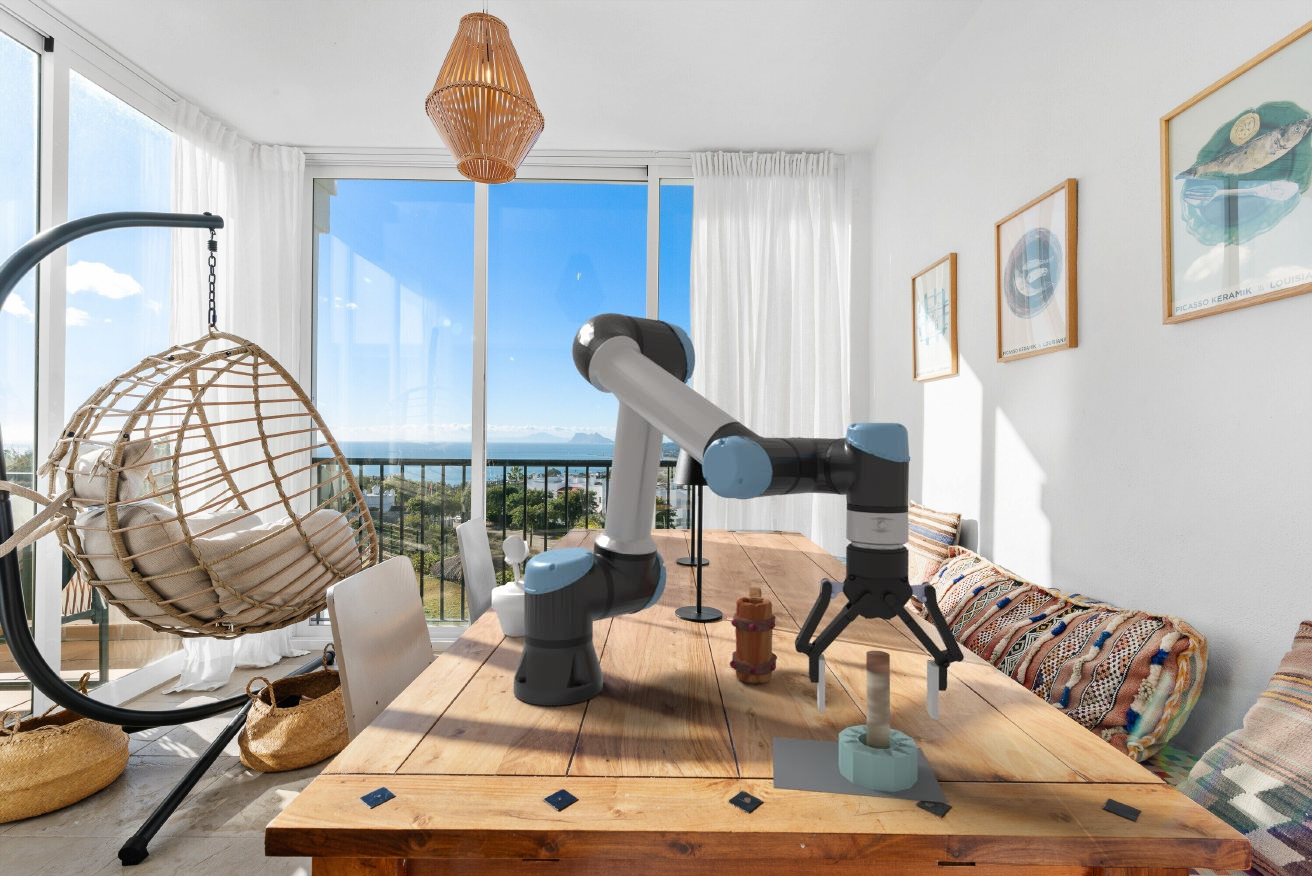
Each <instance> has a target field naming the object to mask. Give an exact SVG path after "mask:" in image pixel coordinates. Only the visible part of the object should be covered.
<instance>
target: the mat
mask: <svg viewBox="0 0 1312 876" xmlns="http://www.w3.org/2000/svg"><path fill="white" fill-rule="evenodd" d="M771 738H772V775H773V776H772V777H773V780H772V781H773V783H772V784H773V786H772V787H773V789H781V790H792V791H793V790H794V791H804V792H805V791H806V792H815V793H817V792H818V793H826V794H827V793H828V794H840V795H841V794H842V795H851V796H863V797H875V798H876V797H877V798H887V799H898V800H906V801H907V800H910V801H921V802H931V803H941V804H942V803H944V804H949V801H948V799H947V797H946V795H945V793H944V791H943V789H942V787H941V785H940V783H939V782H938V779H937V777H936V775H935V773H934V771H933V769H932V767H931V766H930V763H929V762H928V759H927V758H926V755H925V754H924V751H923V750H922V748H921V747H917V748H918V780H917V781H916V783H915V784H914V785H913V786H912V787H911V788H910V789H905V790H901V791H896V792H889V791H877V790H871V789H868V788H865V787H862V786H859V785H856V784H853V783H852V782H851V781H849V780H848V779H847V778H845V777H844V776H843V775H841V773H840V768H839V741H829V740H818V739H817V740H816V739H802V738H791V737H789V738H788V737H779V736H777V737H776V736H772V737H771Z"/></svg>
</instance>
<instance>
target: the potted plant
mask: <svg viewBox="0 0 1312 876" xmlns="http://www.w3.org/2000/svg"><path fill="white" fill-rule="evenodd" d="M531 525H532V526H531V527H532V528H531V529H532V530H531V534H532V535H531V536H532V541H533V540H534V539H533V537H534V536H533V533H534V527H533V523H532V524H531ZM540 545H541V543H540V541H539V542H538V546H540ZM501 550H502V551H503V553H504V556H505V557H504V559H503V560H504V562H506V564H507V565H512V571H513V575H514V580H513V581H508V582H507V583H506V584H505V585H500V586H498V587H497V586H496V587H494V588H493V589H492V590H491V610H492V611H493V612H495V613H496V615H497V619H498V621H499V624H500V628H501V631H502V633H503V634H504V635H505V636H507V637H512V638H521V637H524V587H523V584H524V581H523V580H520V579H521V573H520V572H521V571H520V567H519V564H521V563H522V562H523V561H525V560H526V559H527V557H528V556H529V555H530V548H529V545H528V542H527V540H524V539H523V538H522V536H520V535H518V534H517V535H509V536H508V537H507V538H506V539H504V540H503V542H502V548H501Z"/></svg>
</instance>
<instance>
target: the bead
mask: <svg viewBox="0 0 1312 876" xmlns="http://www.w3.org/2000/svg"><path fill="white" fill-rule="evenodd" d="M838 742H839V768H840V773H841V775H843V776H844V777H845V778H847V779H848V780H849V781H851V782H852V783H853V784H856V785H859V786H862V787H865V788H868V789H871V790H877V791H889V792H896V791H901V790H905V789H910V788H911V787H912V786H913V785H914V784H915V783H916V781H917V780H918V748H919V747H918V746H917V744H916V742H915V740H914V738H912V737H910V736H909V735H907V734H905V733H904V732H902V731H900V730H897V729H894V728H890V748H889V749H875V748H872V747H868V746H867V724H858V725H853V726H848V727H847V726H846V727H845V728H844V729H843V730H841V731H840V732H839V733H838Z"/></svg>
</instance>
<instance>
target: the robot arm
mask: <svg viewBox="0 0 1312 876" xmlns="http://www.w3.org/2000/svg"><path fill="white" fill-rule="evenodd" d="M571 348H572V351H571V353H572V360H573V362H574V366H575V367H576V369H577V371H578V374H580V375H581V376H582V378H583V379H584V380H586V382H587V383H588V384H590V385H591V386H593V387H594V388H595V389H596V390H598V391H599V392H602V393H605V394H610V393H611V394H613V395H614V397H616V399H617V400H618V412H617V420H616V428H615V429H616V430H615V437H614V438H615V439H614V446H613V455H612V463H611V470H610V479H609V488H608V494H607V504H606V514H605V521H604V530H603V531H602V532H601V533H599V534H598V535H596V536H595V538H594V544H593V550H590V549H589V548H587V547H586V548H585V547H579V546H578V547H577V546H576V547H575V546H574V547H570V546H569V547H565V548H555V549H550V550H547V551H543V552H540V553H537V554H536V555H534V556H532V557H531V558H530V559H529V560H528V561H527V563H526V564H525V569H524V578H523V579H524V581H523V582H524V584H523V587H524V636H523V637H524V638H523V639H524V643H523V644H524V645H523V649H522V652H521V654H520V658H519V660H518V665H517V667H516V670H515V673H514V676H513V694H514V696H515V697H516V698H517V699H518V700H520V701H523V702H526V703H528V704H533V705H541V706H565V705H566V706H567V705H572V704H577V703H581V702H585V701H588V700H590V699H593V698H594V697H596V696H598V695H599V694H600V693H601V692H602V691H603V687H604V683H603V682H604V675H603V671H602V667H601V665H600V662H599V658H598V655H597V652H596V648H595V645H594V640H593V639H594V638H593V637H594V636H593V635H594V633H593V630H594V622H596V621H601V620H605V619H611V618H614V617H619V616H620V617H621V616H623V615H625V616H626V615H633V614H637V613H639V612H641V611H644V610H647V609H651V608H652V607H653V606H654V605H655V604H657V602H659V600H660V599H661V597H662V596H663V594H664V591H665V588H666V585H667V584H666V583H667V568H666V566H664V563H665V561H664V558H663V557H662V555H661V554H660V553H659V551H658V544H657V543H656V542H655V540H654V539H653V537H652V535H651V534H652V526H653V518H654V512H655V503H656V496H657V488H658V481H659V473H660V472H659V471H660V464H661V459H662V458H661V456H662V449H663V443H664V442H663V441H664V436H665V437H667V438H668V439H669V440H670V441H672V442H673V443H674V444H675V445H676V446H678V447H679V448H681V450H683V451H684V452H685V453H687V454H688V455H689V456H691V457H692V458H693V460H696V461H697V462H698V463H699V464H700V465H701V468H702V476H703V478H704V479H705V481H706V483H707V487H708V488H709V490H711V492H712V493H714V494H715V495H717V496H718V497H721V498H724V499H737V500H748V499H749V500H750V499H751V500H752V499H755V498H762V497H763V498H764V497H774V496H785V495H788V496H789V495H797V494H798V495H801V494H828V495H829V494H830V495H831V494H832V495H839V496H840V495H841V496H845V497H846V498H845V499H846V527H845V528H846V530H845V533H846V534H845V537H846V539H847V541H849V542H850V543H849V544H847V546H846V548H845V551H846V553H845V557H846V558H845V560H846V561H845V571H846V572H845V578H844V581H843V582H840V581H832V580H830V579H829V578H827V577H823V578H822V579H821V581H820V587H819V588H820V589H819V595H818V596H817V599H816V601H815V602H814V604H813V606H812V608H811V610H810V611H809V614H808V616H807V617H806V620H805V621H804V623H803V624H802V627H801V628H800V630H799V632H798V634H797V636H796V638H795V640H794V645H795V646H794V647H795V651H796V652H797V653H800V654H804V655H805V656H807V657H808V678H809V681H810V683H813V684H817V686H816V687H817V689H816V691H817V696H816V697H817V699H816V700H817V703H816V704H817V709H818V712H822V713H823V712H824V713H825V712H826V657H825V655H824V652H825V650H827V649H828V648H829V646H831V644H832V643H833V642H834V641H835V640H836V639H837V638H838V637H839V636H840V635H841V633H843V631H844V630H845V629H846V628H847V627H848V626H849V625H850V624H851V623H853V622H854V621H855V620H856V619H857V618H858V617H859V616H861V617H862V618H864V619H868V620H873V619H877V618H879V619H882V620H886V621H888V620H889V621H891V620H892V619H894V618H895V617H898V618H900V620H901V621H902V622H903V624H904V625H905V626H906V627H907V628H908V629H909V630H910V632H911V634H913V635H914V637H915V638H916V639H917V640H918V641H919V643H920V644H921V645H922V646H923V647H924V648H925V649H926V650H927V652H928V653H929V654H930V655H931V657H933V659H927V660H926V712H927V713H928V715H929V717H930V718H931V720H936V721H939V715H940V714H939V711H940V710H939V706H940V705H939V703H940V702H939V700H940V698H939V696H940V695H939V694H940V693H939V692H946V691H947V689H948V668H949V667H950V665H951V664H952V663H955V662H957V663H960V662H963V661H964V659H965V656H964V654H963V652H962V650H961V648H960V646H959V644H958V641H957V640H956V638H955V636H954V634H953V632H952V630H951V628H950V627H949V624H948V623H947V621H946V620H947V619H946V618H945V616H944V614H943V612H942V611H941V609H940V607H939V604H938V598H937V590H936V588H935V587H934V586H933V585H932V584H931V583H930V582H928V581H925V582H924V581H923V582H922V583H921V584H913V585H912V584H911V585H910V581H909V556H910V555H909V549H908V548H907V547H906V546H905V545H906V544H907V543H909V541H910V540H909V536H910V535H909V480H910V479H909V476H910V473H909V471H910V462H911V457H910V451H909V450H910V449H909V448H910V447H909V432H908V429H907V428H906V427H905V426H904V424H902V423H900V422H899V423H897V422H858V423H857V422H853V423H850V424H849V425H848V426H847V428H846V435H845V437H842V438H839V437H838V438H822V437H821V438H819V437H818V438H817V437H816V438H815V437H800V436H798V437H764V436H761V435H759V434H757V433H756V432H754V431H753V430H751V429H750V428H748V427H746V426H745V425H743V424H742V423H741V422H740V421H738V420H737V419H736V418H734V417H733V416H732V415H730V414H728V413H727V412H726V411H724V410H723V409H722V408H720V407H718V406H717V405H716V404H714V403H713V402H711V401H710V400H708V399H707V398H706V397H704V396H703V395H701V393H699V392H697V391H696V390H694V389H693V388H691V387H690V386H689V385H687V383H688V382H689V381H688V380H690V379H691V378H692V376H693V374H694V370H695V367H696V353H695V347H694V344H693V342H692V339H691V338H690V337H689V336H688V333H687V332H686V331H685V330H684V329H683V328H682V327H681V326H679V325H677V324H675V323H671V322H667V321H665V320H660V319H650V318H646V317H645V318H644V317H637V316H631V315H626V314H625V315H624V314H621V313H614V312H609V313H601V314H598V315H596V316H592V317H591V318H589V319H588V320H586V321H584V323H583V324H582V325H581V326H580V327H579V329H578V330H577V332H576V334H575V336H574V339H573V342H572V347H571ZM839 593H843V595H844V596H845V597H846V598H847V600H848V602H846V604H845V605H844V606H842V609H841V610H840V611H839V613H838V614H837V615H836V616H835V617H834V618H833V619H832V620H831V621H830V623H828V624H827V626H826V627H825V628H824V629H823V630H822V631H821V633H820V634H818V635H817V636H816V638H814V640H813V641H812V642H811V643H810V641H811V640H812V639H813V638H812V637H813V636H814V634H815V632H816V630H817V628H818V627H819V624H820V623H821V621H822V618H823V617H824V615H825V614H826V611H827V609H828V607H829V606H830V603H831V600H832V599H833V600H834V599H836V598H837V596H838V594H839ZM913 596H916V599H917V600H918V601H919V603H923V605H924V607H925V609H926V610H927V613H928V615H929V617H930V619H931V620H932V623H933V625H934V626H935V630H937V632H938V634H939V636H940V639H941V640H942V642H943V644H944V647H945V648H946V649H943V650H941V649H940V648H939V647H938V645H937V644H936V643H935V642H934V641H933V640H932V639H931V638H930V636H929V635H928V634H927V633H926V631H925V630H924V629H923V628H922V627H921V625H919V623H918V622H917V620H915V619H914V617H913V616H912V615H911V614H910V613H909V611H908V610H907V609H906V608H905V606H906V605H907V603H908V602H909V600H910V599H911V598H912V597H913Z"/></svg>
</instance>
